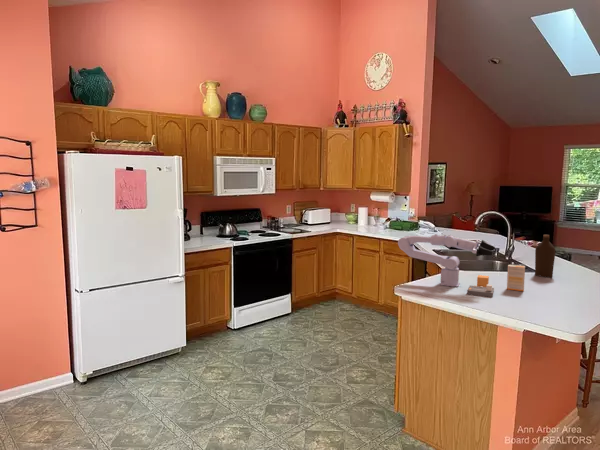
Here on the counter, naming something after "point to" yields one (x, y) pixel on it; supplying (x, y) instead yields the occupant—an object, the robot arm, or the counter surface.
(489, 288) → the switch
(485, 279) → the cap
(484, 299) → the counter surface
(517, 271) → the supplement box
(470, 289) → the breaker panel
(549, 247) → the olive oil
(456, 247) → the robot arm
